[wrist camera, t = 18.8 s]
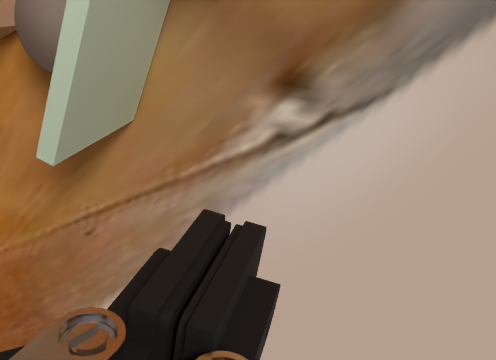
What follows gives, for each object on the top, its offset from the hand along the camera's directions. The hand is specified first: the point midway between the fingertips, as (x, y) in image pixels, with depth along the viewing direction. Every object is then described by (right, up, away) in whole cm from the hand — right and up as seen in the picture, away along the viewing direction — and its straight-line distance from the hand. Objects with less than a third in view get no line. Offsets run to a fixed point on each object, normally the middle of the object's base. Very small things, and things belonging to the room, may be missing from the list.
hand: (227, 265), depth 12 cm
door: (-6, +13, +21) cm, 25 cm away
